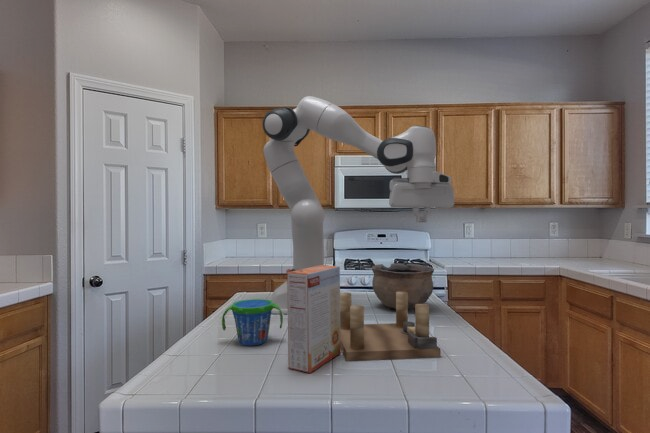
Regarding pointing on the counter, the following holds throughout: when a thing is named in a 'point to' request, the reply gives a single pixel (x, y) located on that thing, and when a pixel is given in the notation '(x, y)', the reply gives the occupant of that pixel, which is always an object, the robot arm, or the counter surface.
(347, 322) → the stool
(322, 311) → the cracker box
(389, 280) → the ceramic bowl
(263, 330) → the snack cup
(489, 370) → the counter surface
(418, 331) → the leg
